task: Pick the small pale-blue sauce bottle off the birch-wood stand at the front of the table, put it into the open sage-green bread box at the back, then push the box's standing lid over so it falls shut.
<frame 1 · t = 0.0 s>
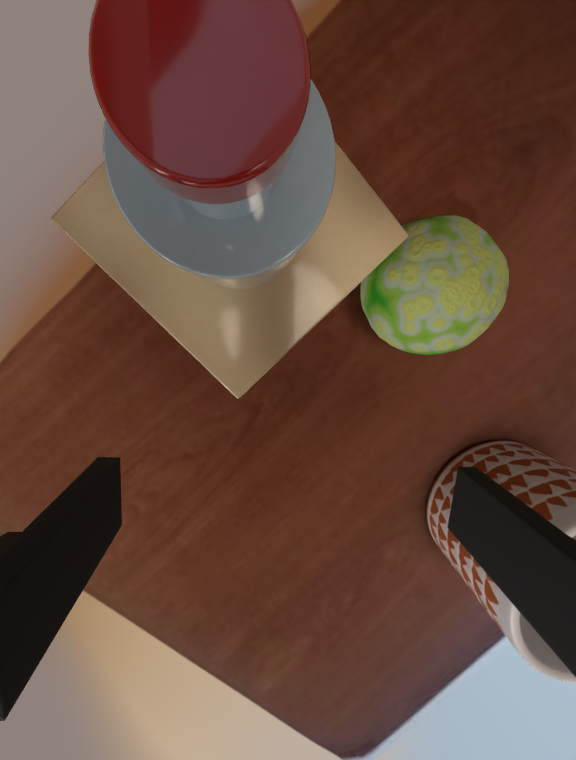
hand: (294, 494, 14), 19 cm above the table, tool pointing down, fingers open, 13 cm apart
stand: (246, 266, 30), on the table
planter: (488, 500, 37), on the table
decorative ball: (401, 291, 32), on the table
bottle: (237, 227, 14), point 16 cm above the table, touching stand
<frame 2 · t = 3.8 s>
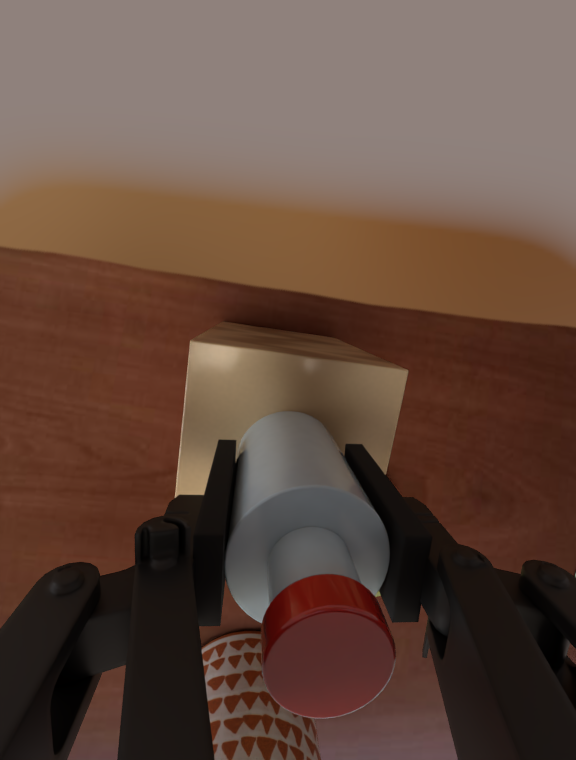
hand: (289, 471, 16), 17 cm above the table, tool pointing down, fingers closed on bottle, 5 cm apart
stand: (271, 384, 33), on the table
planter: (245, 678, 39), on the table
bottle: (287, 459, 17), point 16 cm above the table, touching gripper, stand
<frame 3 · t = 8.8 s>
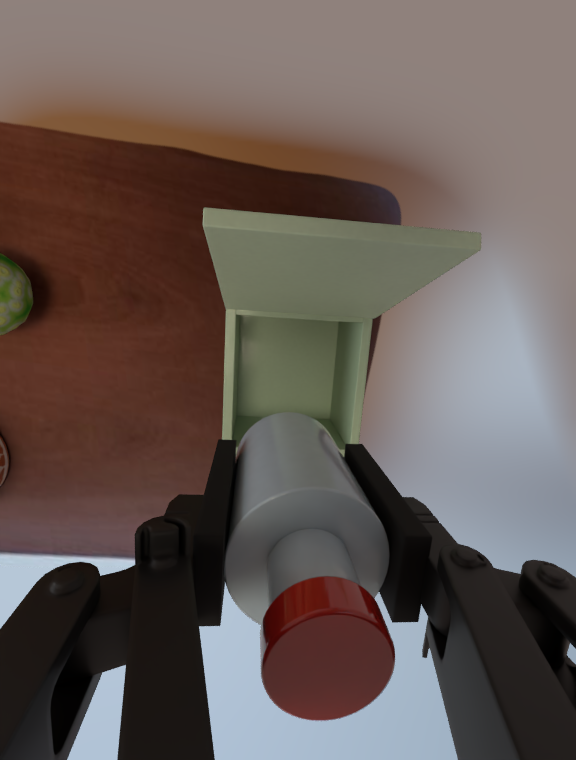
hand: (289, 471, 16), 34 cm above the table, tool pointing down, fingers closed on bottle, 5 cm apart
lid: (317, 281, 27), point 21 cm above the table, hinge at 105.1°
decorative ball: (9, 292, 45), on the table
bottle: (287, 460, 17), point 33 cm above the table, touching gripper
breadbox: (286, 366, 50), on the table
when the fingers open (13 cm above the table, at t = 14.1 s): bottle drops 10 cm, resting on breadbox.
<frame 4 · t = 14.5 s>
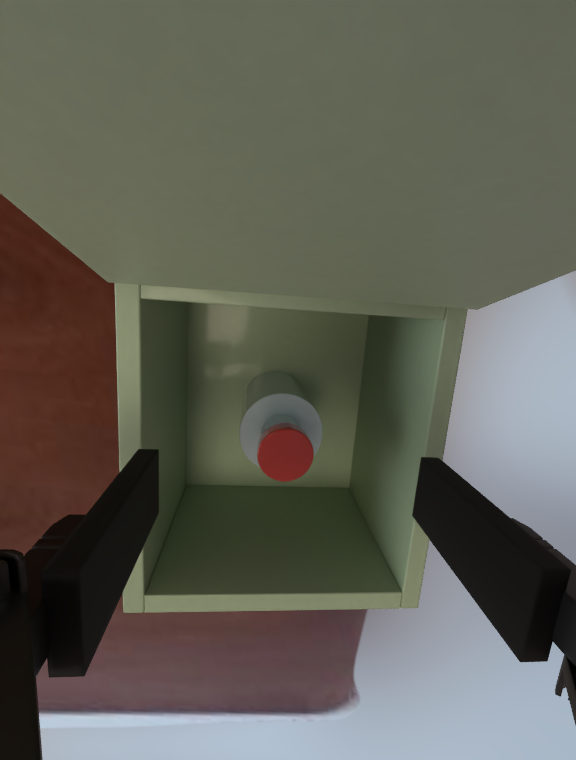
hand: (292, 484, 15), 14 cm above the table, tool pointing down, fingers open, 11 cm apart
lid: (376, 125, 6), point 21 cm above the table, hinge at 105.1°
bottle: (274, 401, 27), point 1 cm above the table, touching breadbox
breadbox: (274, 397, 28), on the table
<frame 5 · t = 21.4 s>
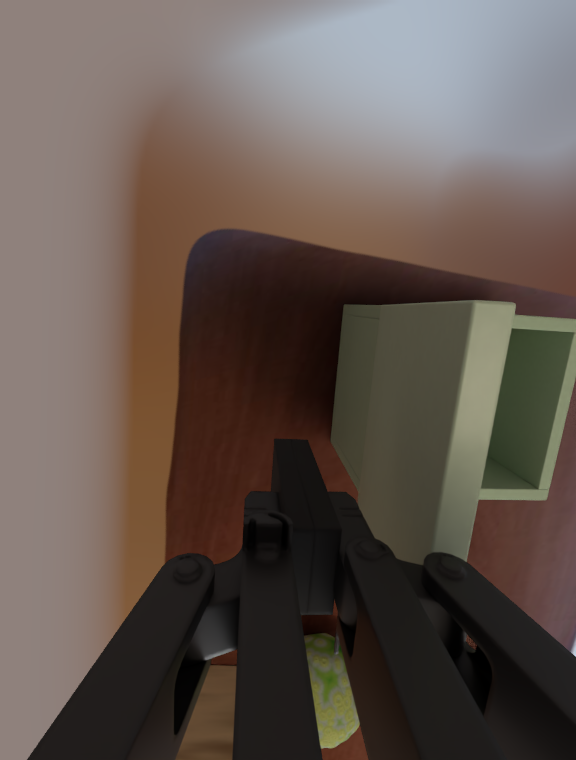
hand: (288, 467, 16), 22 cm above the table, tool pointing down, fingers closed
lid: (394, 455, 18), point 21 cm above the table, hinge at 102.5°
stand: (222, 697, 46), on the table
decorative ball: (313, 644, 46), on the table
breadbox: (407, 379, 40), on the table
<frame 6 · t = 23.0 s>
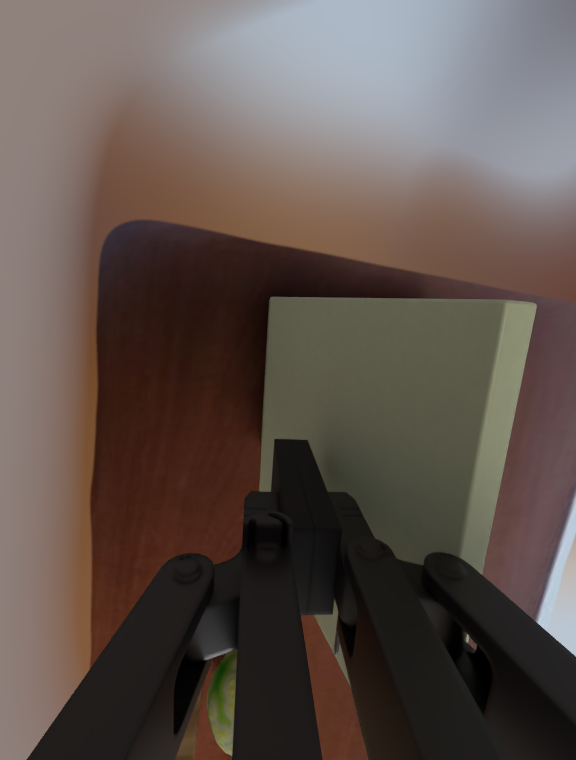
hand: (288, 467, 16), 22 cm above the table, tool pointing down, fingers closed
lid: (324, 458, 17), point 21 cm above the table, hinge at 74.9°
stand: (159, 705, 45), on the table
decorative ball: (253, 651, 45), on the table
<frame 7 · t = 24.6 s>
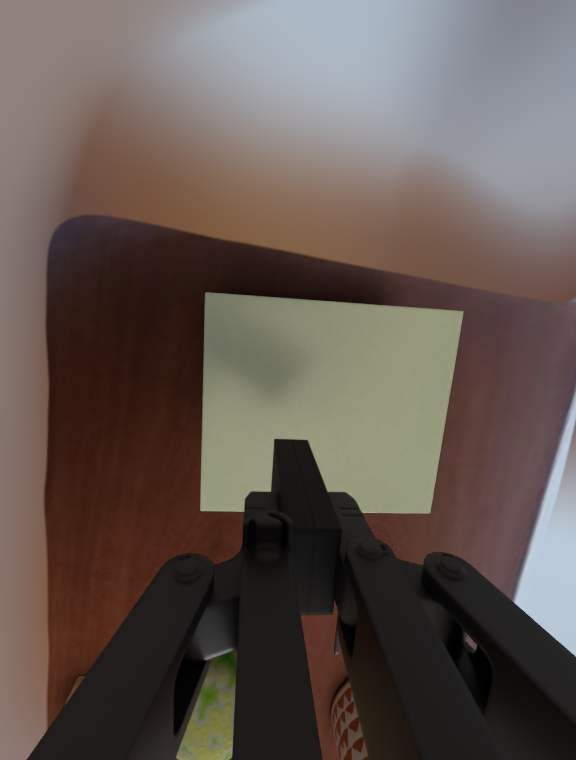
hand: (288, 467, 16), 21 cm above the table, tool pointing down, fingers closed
lid: (327, 411, 25), point 13 cm above the table, hinge at -0.1°
planter: (380, 702, 48), on the table
decorative ball: (215, 655, 44), on the table
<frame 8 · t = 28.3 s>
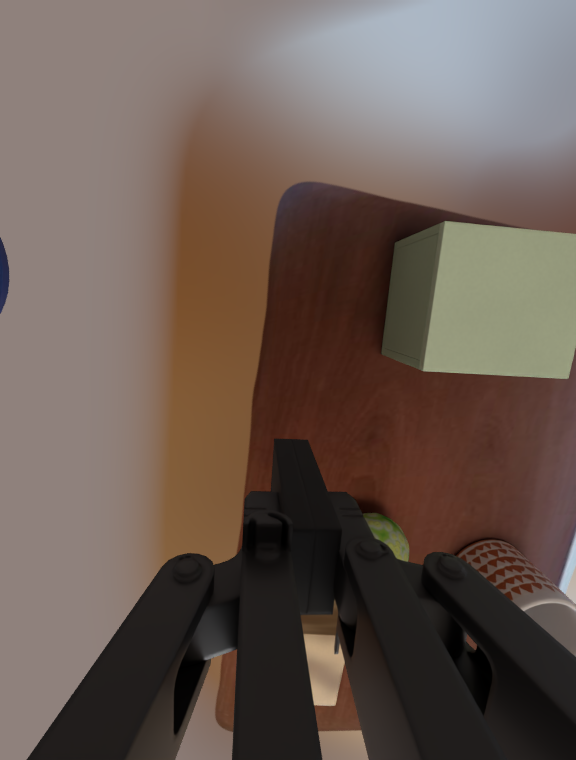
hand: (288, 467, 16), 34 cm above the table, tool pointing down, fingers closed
lid: (507, 304, 38), point 13 cm above the table, hinge at -0.1°
stand: (288, 570, 57), on the table
planter: (482, 572, 61), on the table
decorative ball: (362, 527, 57), on the table
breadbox: (443, 304, 50), on the table
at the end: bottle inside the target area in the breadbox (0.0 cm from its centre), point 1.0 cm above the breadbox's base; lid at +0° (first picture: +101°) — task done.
